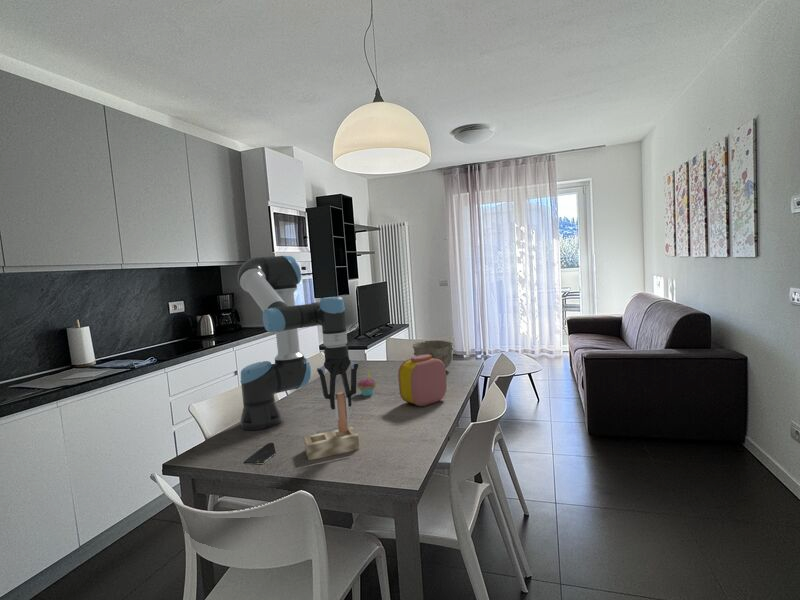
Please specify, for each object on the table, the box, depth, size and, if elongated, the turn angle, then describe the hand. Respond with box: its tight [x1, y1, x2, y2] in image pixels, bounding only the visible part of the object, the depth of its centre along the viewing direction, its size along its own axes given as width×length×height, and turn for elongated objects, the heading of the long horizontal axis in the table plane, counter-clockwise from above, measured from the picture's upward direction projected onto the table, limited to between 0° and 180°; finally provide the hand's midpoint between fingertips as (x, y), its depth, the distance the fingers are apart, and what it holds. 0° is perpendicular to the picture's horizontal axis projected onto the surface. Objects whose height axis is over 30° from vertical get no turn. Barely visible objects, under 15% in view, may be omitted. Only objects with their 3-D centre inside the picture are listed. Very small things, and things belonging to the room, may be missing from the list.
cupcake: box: [356, 368, 377, 397], centre depth 197 cm, size 9×8×12 cm
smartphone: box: [243, 442, 277, 464], centre depth 141 cm, size 7×1×15 cm
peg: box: [335, 392, 349, 432], centre depth 139 cm, size 3×3×12 cm
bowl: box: [412, 339, 454, 370], centre depth 230 cm, size 22×22×15 cm
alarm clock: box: [397, 354, 448, 407], centre depth 181 cm, size 18×11×19 cm, turn 126°
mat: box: [316, 427, 338, 434], centre depth 152 cm, size 10×10×1 cm
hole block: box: [303, 426, 360, 461], centre depth 139 cm, size 16×8×5 cm, turn 110°
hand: (342, 417), depth 139 cm, fingers closed on peg, 3 cm apart
